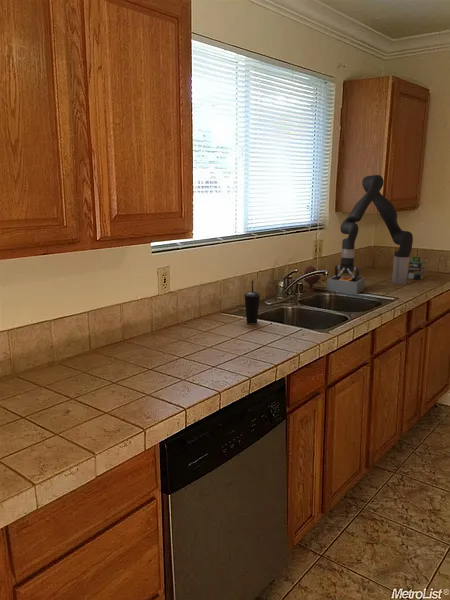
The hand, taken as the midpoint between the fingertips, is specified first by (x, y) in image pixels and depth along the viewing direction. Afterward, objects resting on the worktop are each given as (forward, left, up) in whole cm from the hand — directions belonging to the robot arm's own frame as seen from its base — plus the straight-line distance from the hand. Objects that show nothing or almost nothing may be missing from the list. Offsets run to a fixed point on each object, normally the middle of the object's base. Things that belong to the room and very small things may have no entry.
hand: (346, 283), depth 306 cm
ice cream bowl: (+13, -17, -4) cm, 22 cm away
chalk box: (-59, +28, -4) cm, 65 cm away
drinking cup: (+91, -15, -4) cm, 92 cm away
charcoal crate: (0, 0, -4) cm, 4 cm away
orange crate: (0, 0, -3) cm, 3 cm away
